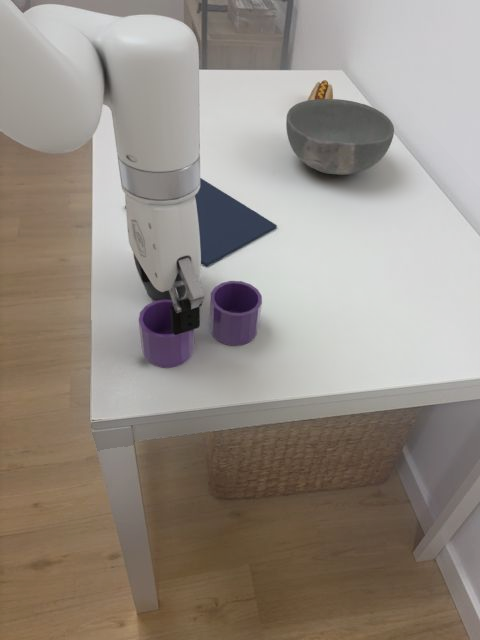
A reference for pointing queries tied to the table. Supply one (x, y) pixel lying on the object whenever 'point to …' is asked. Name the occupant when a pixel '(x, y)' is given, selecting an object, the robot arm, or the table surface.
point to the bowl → (338, 135)
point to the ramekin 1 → (163, 336)
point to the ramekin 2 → (235, 312)
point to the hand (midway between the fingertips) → (169, 303)
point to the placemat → (225, 223)
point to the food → (321, 91)
